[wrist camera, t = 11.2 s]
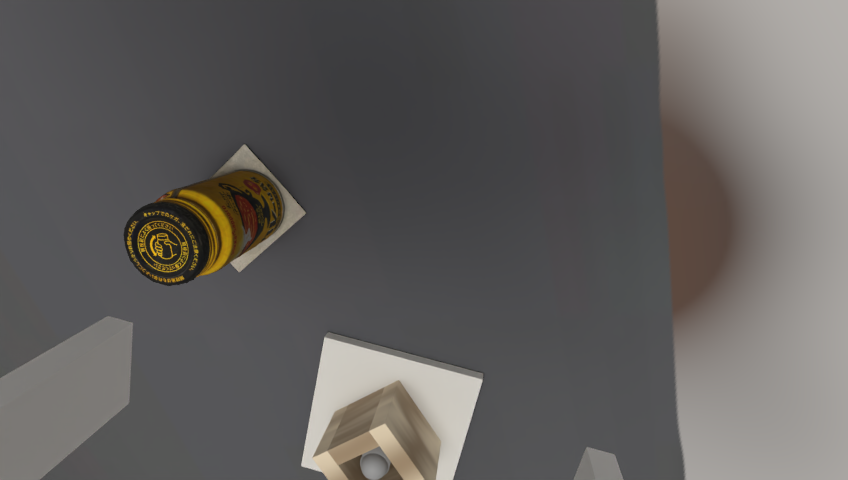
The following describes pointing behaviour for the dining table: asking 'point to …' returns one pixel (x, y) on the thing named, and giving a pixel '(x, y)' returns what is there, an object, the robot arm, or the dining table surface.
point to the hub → (379, 367)
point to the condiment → (211, 223)
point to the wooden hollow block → (380, 438)
